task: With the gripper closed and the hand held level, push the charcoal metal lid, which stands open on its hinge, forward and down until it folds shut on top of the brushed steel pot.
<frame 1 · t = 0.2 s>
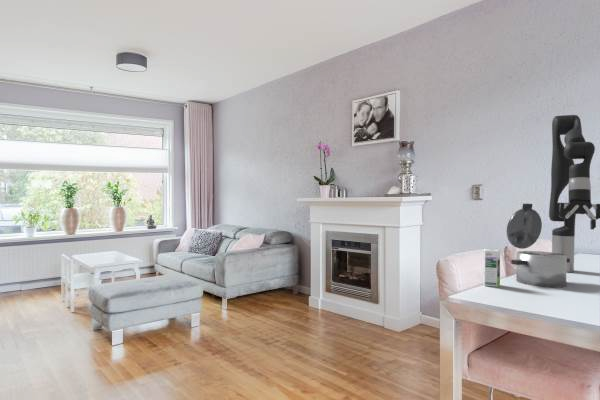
hand: (579, 228, 164), 23 cm above the table, tool pointing down, fingers open, 8 cm apart
pot: (540, 282, 170), on the table
syrup box: (491, 285, 163), on the table
lid: (524, 226, 177), point 23 cm above the table, hinge at 82.0°
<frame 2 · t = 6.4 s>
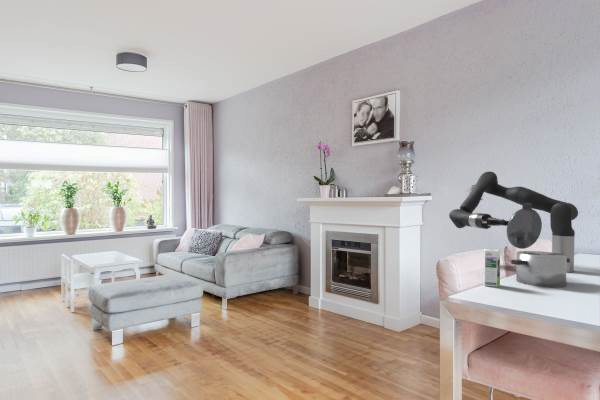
hand: (507, 223, 187), 24 cm above the table, tool horizontal, fingers closed
nothing on the table moved.
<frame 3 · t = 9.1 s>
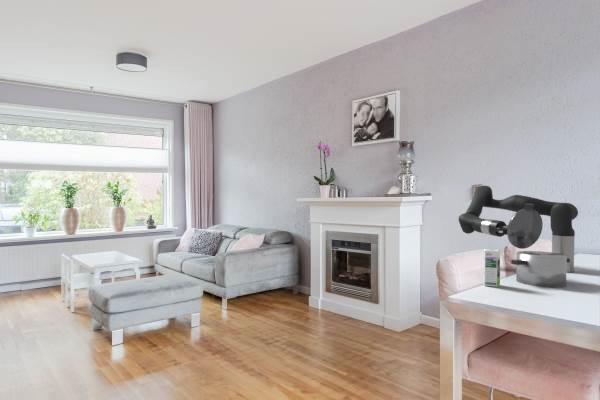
hand: (525, 233, 179), 20 cm above the table, tool horizontal, fingers closed
lid: (525, 226, 177), point 23 cm above the table, hinge at 79.8°, touching gripper
everything else where it was.
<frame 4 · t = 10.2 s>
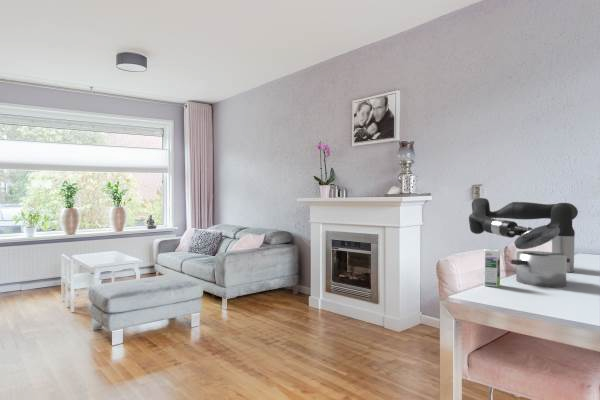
hand: (538, 234, 172), 20 cm above the table, tool horizontal, fingers closed
lid: (538, 236, 171), point 19 cm above the table, hinge at 37.2°
everything else where it was.
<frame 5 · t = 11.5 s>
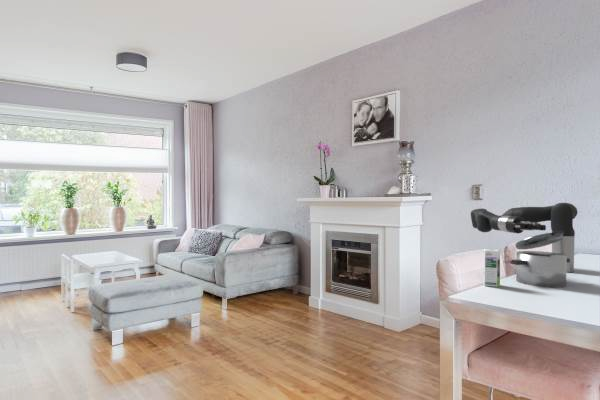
hand: (544, 227, 168), 23 cm above the table, tool horizontal, fingers closed
lid: (540, 240, 170), point 18 cm above the table, hinge at 25.9°
everything else where it was.
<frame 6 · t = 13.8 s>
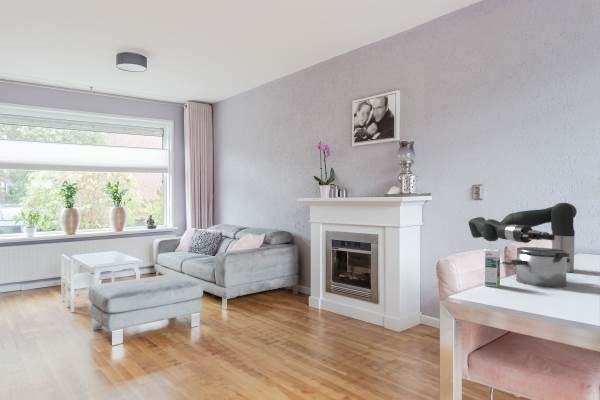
hand: (553, 237, 164), 20 cm above the table, tool horizontal, fingers closed
lid: (543, 251, 168), point 13 cm above the table, hinge at -0.2°
everything else where it was.
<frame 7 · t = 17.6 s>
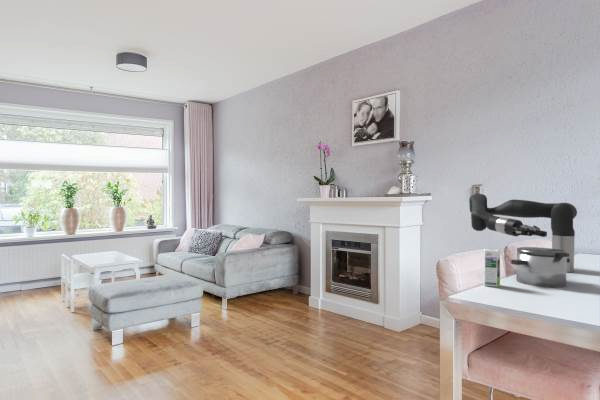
hand: (545, 234, 171), 20 cm above the table, tool horizontal, fingers closed
nothing on the table moved.
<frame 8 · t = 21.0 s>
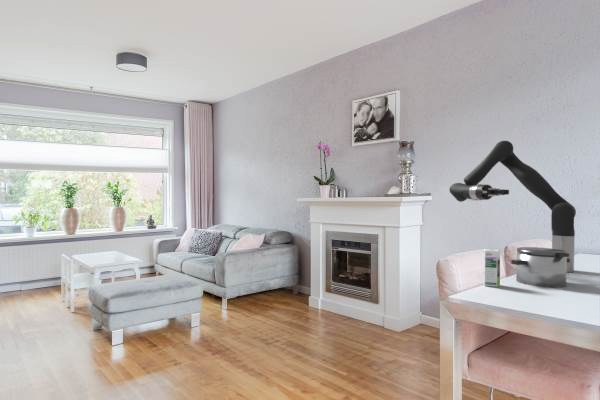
hand: (507, 192, 187), 38 cm above the table, tool horizontal, fingers closed
nothing on the table moved.
at the end: lid at +0° (first picture: +82°); syrup box moved 0.2 cm from its start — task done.
